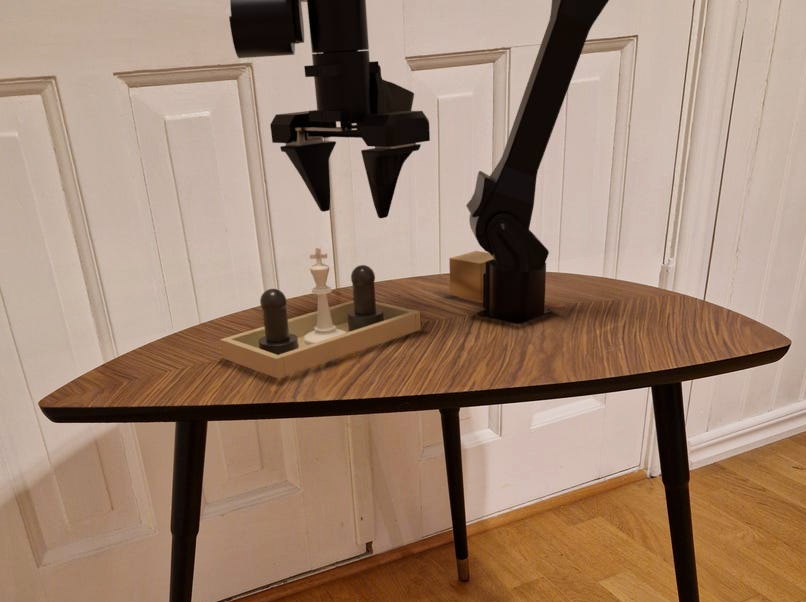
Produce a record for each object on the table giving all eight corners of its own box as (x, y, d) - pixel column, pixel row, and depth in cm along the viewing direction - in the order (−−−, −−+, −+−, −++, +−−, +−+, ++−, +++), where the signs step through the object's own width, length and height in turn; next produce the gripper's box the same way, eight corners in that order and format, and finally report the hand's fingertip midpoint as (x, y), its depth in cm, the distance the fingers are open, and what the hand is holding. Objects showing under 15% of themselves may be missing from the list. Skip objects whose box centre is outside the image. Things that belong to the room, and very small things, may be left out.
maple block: (506, 295, 102) (506, 255, 99) (480, 304, 99) (480, 263, 96) (475, 289, 105) (475, 250, 103) (449, 298, 102) (449, 258, 100)
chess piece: (345, 349, 84) (337, 252, 79) (299, 350, 85) (288, 253, 80) (352, 335, 88) (345, 241, 84) (308, 335, 89) (299, 243, 84)
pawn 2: (391, 328, 90) (388, 264, 87) (365, 337, 88) (360, 271, 84) (367, 322, 93) (363, 259, 89) (341, 330, 90) (335, 266, 87)
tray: (363, 318, 96) (361, 297, 95) (421, 333, 90) (420, 311, 88) (223, 362, 84) (219, 339, 83) (279, 383, 78) (276, 358, 77)
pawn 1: (307, 356, 83) (300, 287, 79) (276, 367, 80) (267, 296, 77) (283, 348, 85) (276, 281, 82) (252, 358, 83) (243, 290, 80)
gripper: (464, 44, 80) (466, 208, 87) (337, 53, 91) (349, 197, 99) (384, 48, 73) (394, 226, 80) (259, 57, 85) (277, 212, 92)
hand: (353, 214), depth 88 cm, fingers open, 9 cm apart
